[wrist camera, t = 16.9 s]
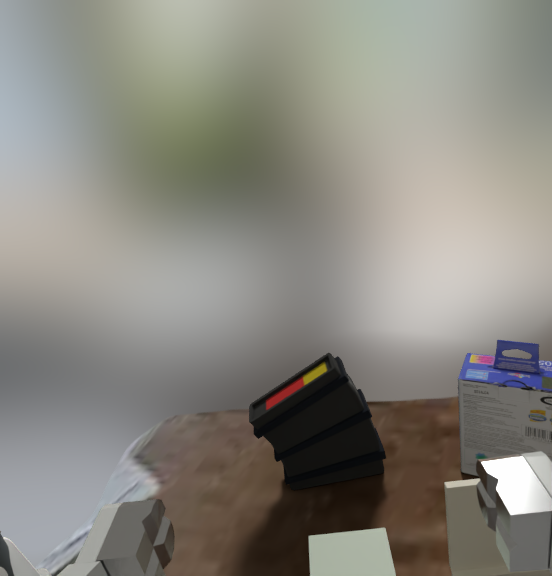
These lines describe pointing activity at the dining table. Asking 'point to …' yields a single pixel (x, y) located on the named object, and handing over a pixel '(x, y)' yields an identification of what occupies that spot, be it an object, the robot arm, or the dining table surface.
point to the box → (351, 554)
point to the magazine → (319, 426)
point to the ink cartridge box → (504, 405)
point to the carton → (473, 535)
